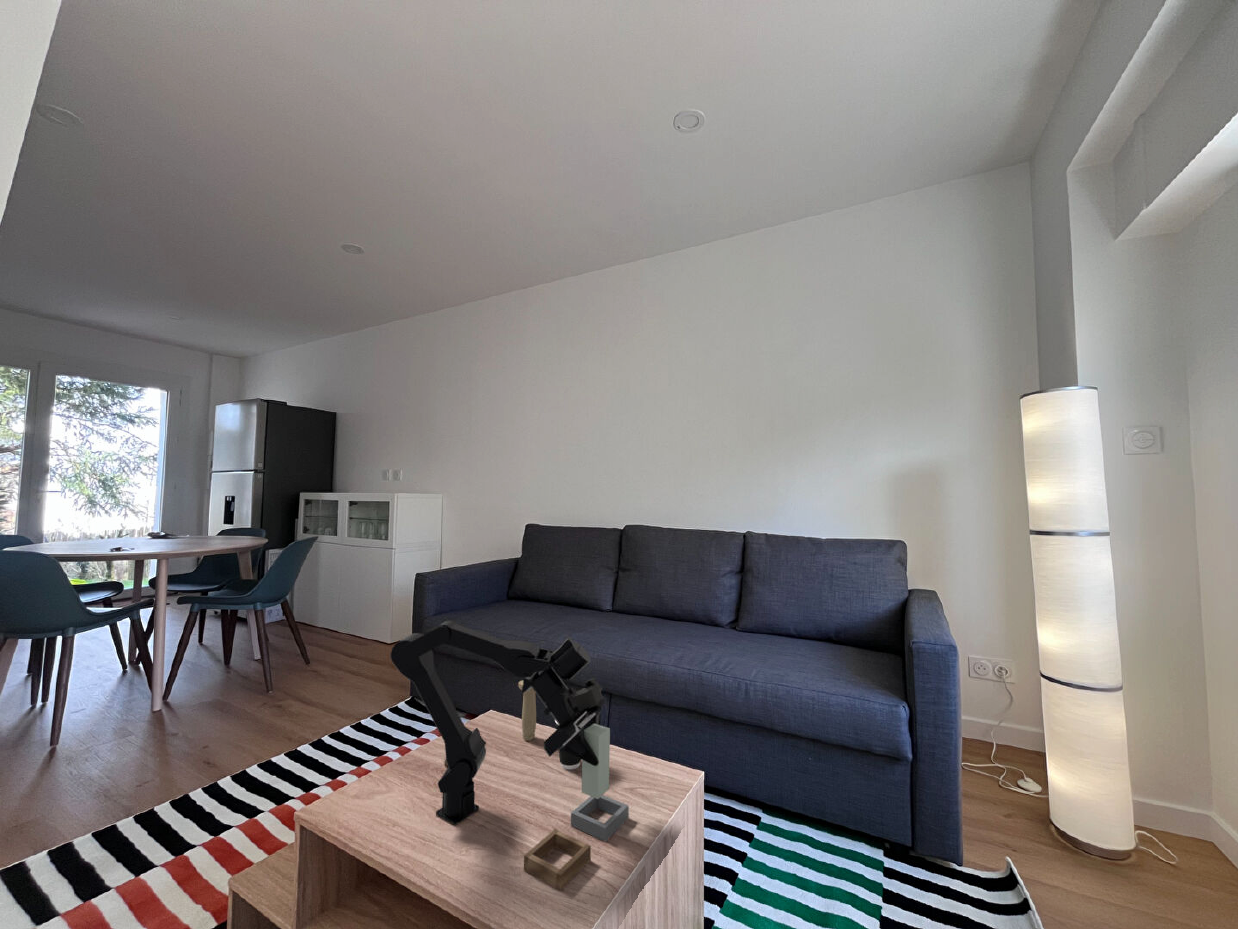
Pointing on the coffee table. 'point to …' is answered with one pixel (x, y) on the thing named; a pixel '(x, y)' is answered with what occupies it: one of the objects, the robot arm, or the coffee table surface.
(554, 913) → the coffee table surface
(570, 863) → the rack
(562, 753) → the dixie cup
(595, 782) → the peg
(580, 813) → the socket
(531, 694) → the handle
